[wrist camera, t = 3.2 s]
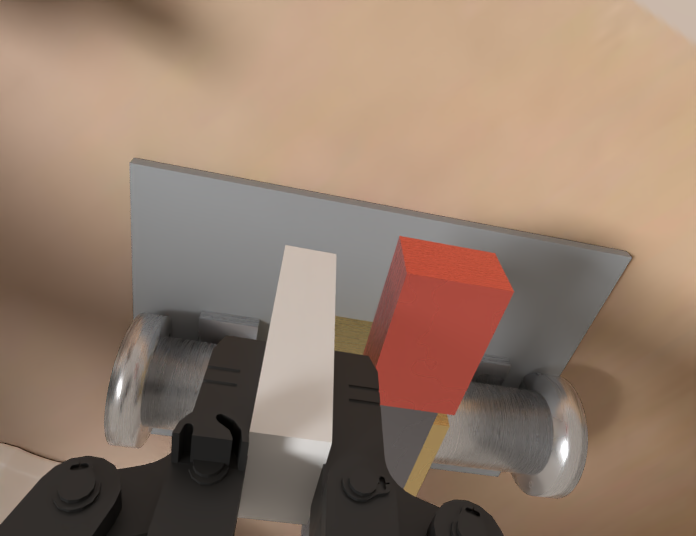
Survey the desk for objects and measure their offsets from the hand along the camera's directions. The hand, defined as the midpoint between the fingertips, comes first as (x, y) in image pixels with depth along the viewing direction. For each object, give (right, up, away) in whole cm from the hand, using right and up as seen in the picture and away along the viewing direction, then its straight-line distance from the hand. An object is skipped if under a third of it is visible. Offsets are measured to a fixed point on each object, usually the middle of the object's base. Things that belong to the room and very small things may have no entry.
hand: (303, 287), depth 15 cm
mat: (+2, -4, +13) cm, 14 cm away
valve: (+2, -5, +14) cm, 15 cm away
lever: (+3, -5, +4) cm, 7 cm away
